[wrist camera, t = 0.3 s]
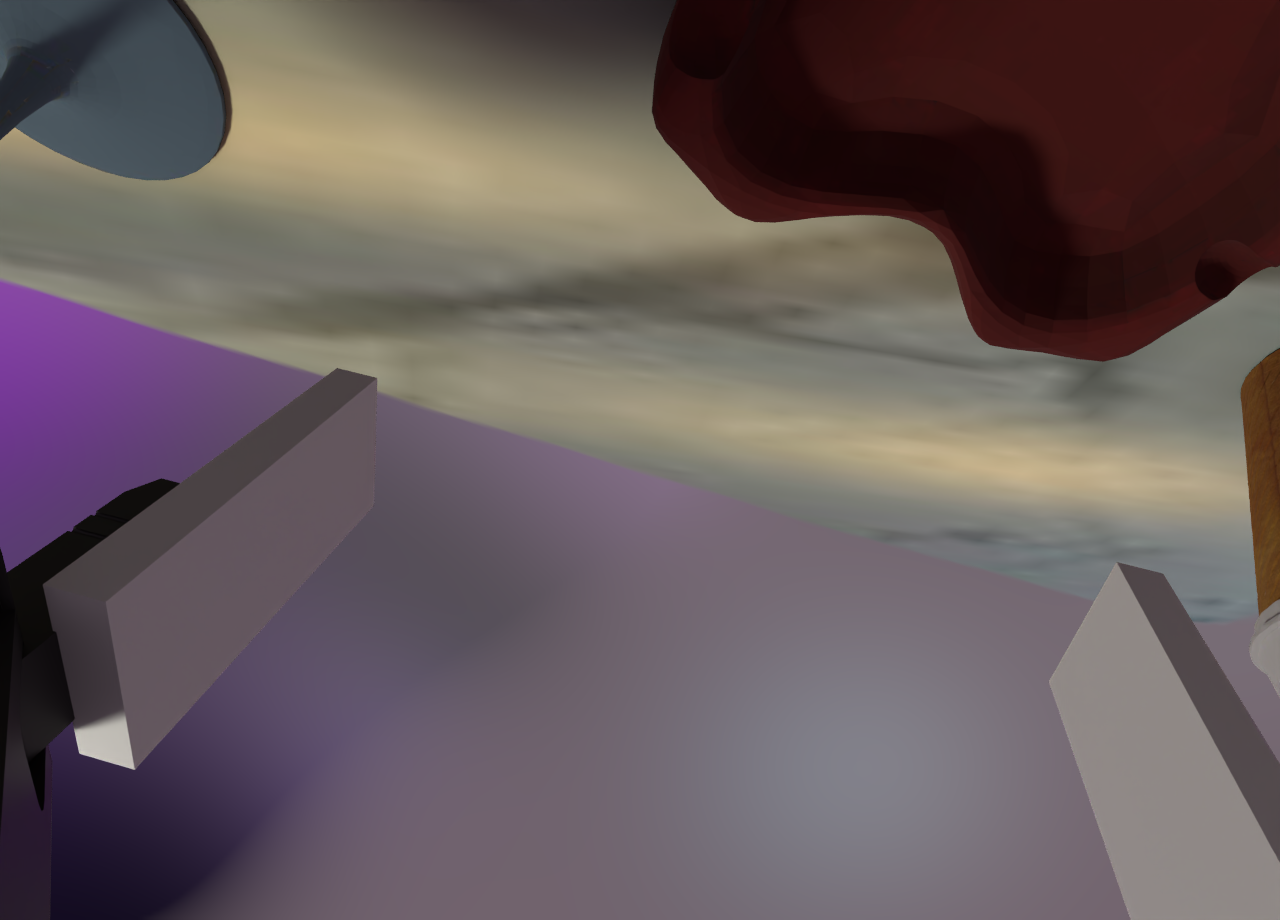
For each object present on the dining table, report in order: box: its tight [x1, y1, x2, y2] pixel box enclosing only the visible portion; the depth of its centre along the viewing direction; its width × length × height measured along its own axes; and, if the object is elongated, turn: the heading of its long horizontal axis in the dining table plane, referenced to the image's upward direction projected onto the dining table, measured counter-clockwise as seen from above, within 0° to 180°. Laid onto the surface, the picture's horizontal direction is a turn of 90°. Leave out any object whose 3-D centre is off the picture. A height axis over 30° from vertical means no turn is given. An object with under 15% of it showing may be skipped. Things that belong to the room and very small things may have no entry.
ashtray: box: [652, 0, 1280, 361], centre depth 21 cm, size 18×16×5 cm
